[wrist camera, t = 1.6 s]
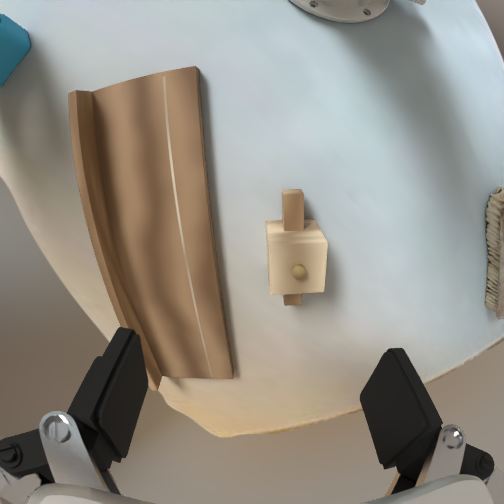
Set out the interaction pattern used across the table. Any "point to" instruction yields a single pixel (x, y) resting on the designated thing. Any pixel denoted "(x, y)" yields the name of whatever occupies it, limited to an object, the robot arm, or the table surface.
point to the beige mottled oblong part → (495, 253)
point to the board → (153, 218)
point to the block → (11, 46)
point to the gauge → (295, 251)
